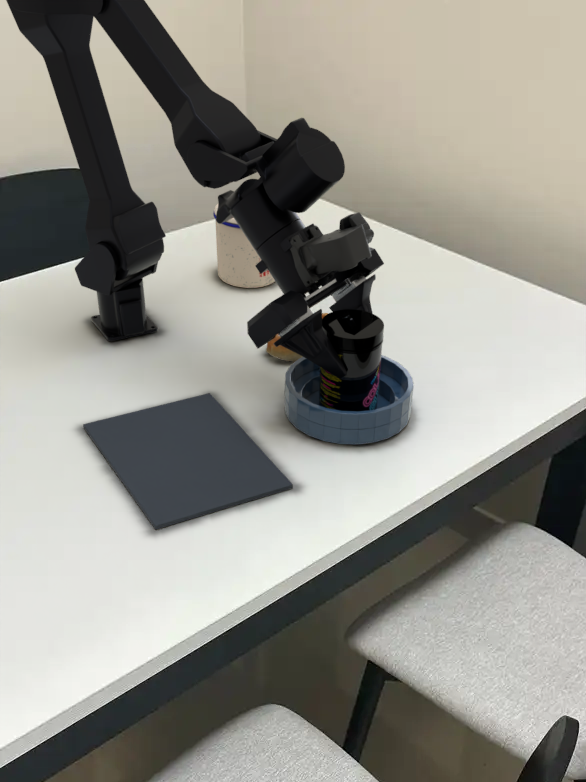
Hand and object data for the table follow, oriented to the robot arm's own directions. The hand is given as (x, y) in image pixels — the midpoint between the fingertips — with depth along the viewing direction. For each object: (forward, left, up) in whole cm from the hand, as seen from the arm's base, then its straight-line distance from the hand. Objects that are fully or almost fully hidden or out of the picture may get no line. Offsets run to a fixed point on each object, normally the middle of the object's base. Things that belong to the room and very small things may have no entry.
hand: (361, 363), depth 104 cm
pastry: (-16, +2, -7) cm, 18 cm away
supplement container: (-1, -1, -6) cm, 7 cm away
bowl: (-1, -1, -7) cm, 7 cm away
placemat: (-1, -21, -7) cm, 22 cm away
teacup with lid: (-39, +6, -7) cm, 40 cm away
